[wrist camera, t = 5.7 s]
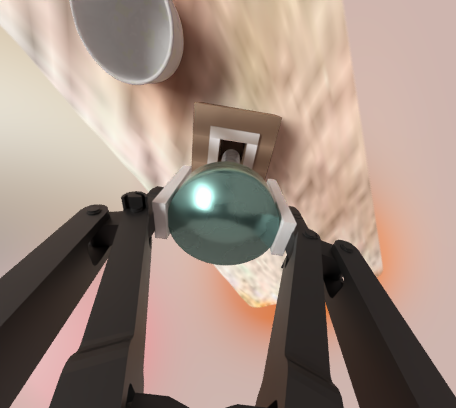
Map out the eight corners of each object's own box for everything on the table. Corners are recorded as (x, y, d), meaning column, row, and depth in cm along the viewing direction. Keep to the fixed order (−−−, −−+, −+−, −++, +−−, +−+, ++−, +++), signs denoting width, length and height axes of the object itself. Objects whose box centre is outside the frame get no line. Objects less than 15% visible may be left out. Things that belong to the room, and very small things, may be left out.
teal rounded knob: (204, 177, 26) (168, 257, 13) (208, 126, 22) (165, 165, 9) (250, 184, 26) (263, 271, 13) (262, 135, 22) (296, 186, 9)
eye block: (202, 102, 28) (193, 102, 23) (274, 114, 29) (282, 117, 23) (197, 171, 34) (190, 184, 29) (257, 181, 35) (260, 196, 29)
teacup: (204, 32, 24) (191, 5, 17) (168, 104, 29) (147, 105, 22) (105, -65, 20) (37, -150, 13) (82, 36, 25) (23, 11, 18)
